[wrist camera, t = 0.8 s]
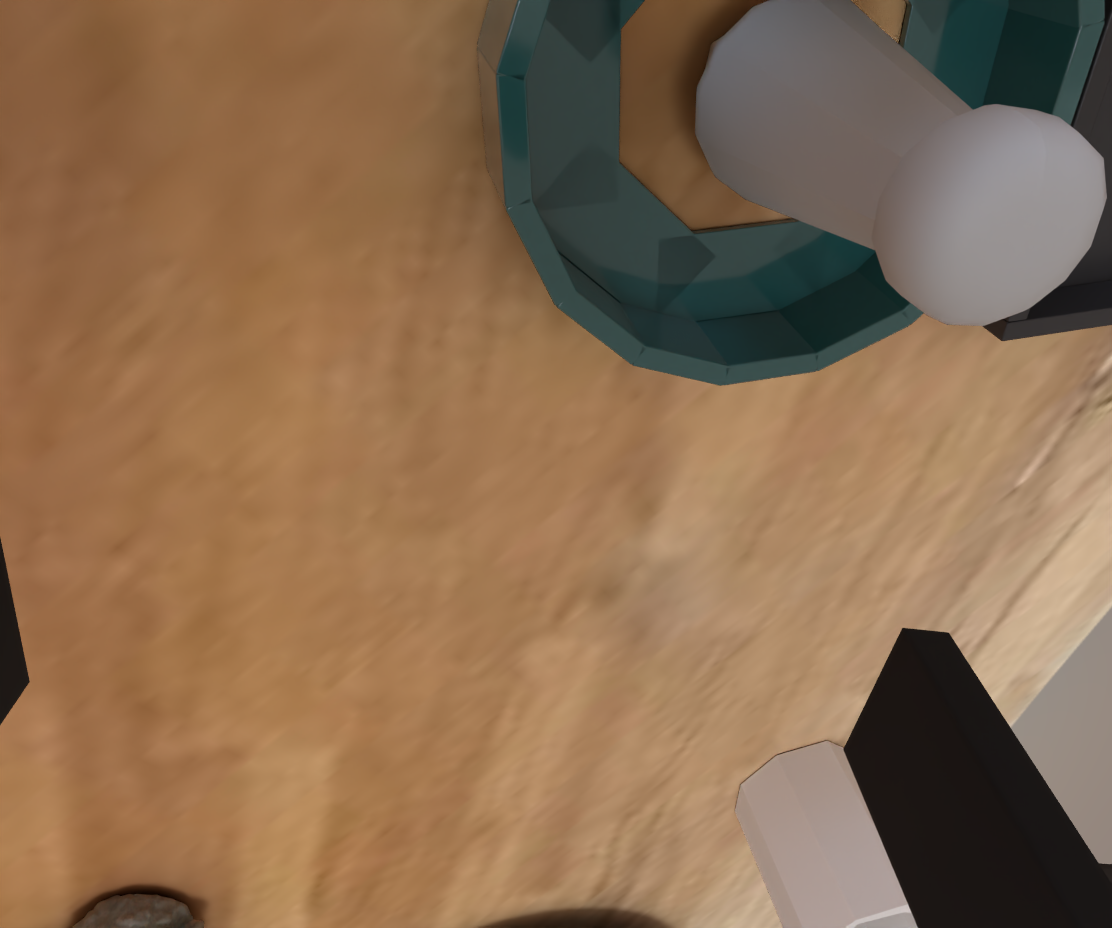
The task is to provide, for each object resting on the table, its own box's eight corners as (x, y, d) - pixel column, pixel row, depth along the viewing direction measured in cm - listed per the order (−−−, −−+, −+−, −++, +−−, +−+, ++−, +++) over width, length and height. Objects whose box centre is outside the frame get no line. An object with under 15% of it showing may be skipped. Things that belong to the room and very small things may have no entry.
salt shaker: (881, 53, 27) (1221, 195, 17) (763, 207, 29) (997, 414, 19) (754, -68, 24) (1071, 16, 14) (634, 113, 26) (829, 298, 16)
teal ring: (449, -285, 20) (469, -301, 17) (1109, -300, 22) (1218, -317, 20) (502, 363, 31) (520, 417, 28) (943, 302, 33) (999, 345, 30)
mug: (713, 822, 54) (776, 986, 47) (773, 739, 50) (854, 905, 42) (860, 819, 59) (940, 969, 51) (928, 742, 54) (1027, 894, 47)
